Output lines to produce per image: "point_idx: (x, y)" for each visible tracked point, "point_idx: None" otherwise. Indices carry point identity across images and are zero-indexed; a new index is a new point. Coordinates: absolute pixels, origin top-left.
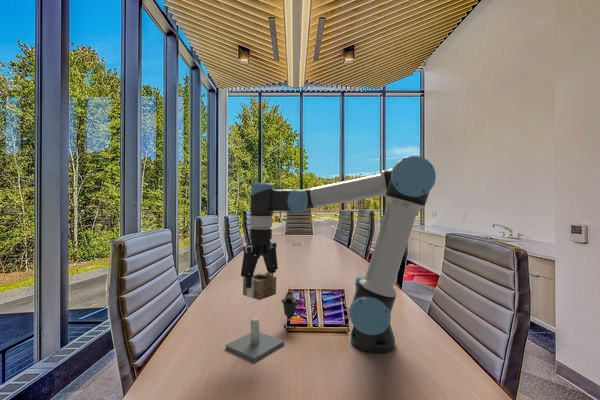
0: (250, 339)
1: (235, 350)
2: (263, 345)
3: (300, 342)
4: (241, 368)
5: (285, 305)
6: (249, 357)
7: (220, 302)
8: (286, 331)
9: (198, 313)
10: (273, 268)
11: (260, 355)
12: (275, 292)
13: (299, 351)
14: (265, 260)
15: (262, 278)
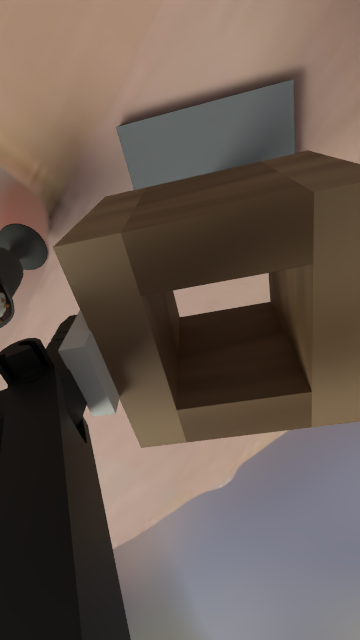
0: None
1: None
2: (203, 154)
3: (46, 89)
4: (350, 74)
5: (6, 283)
6: (292, 114)
7: (141, 479)
8: (55, 218)
9: (220, 457)
10: (13, 399)
11: (257, 89)
12: (107, 199)
13: (90, 11)
14: (108, 576)
15: (169, 361)
